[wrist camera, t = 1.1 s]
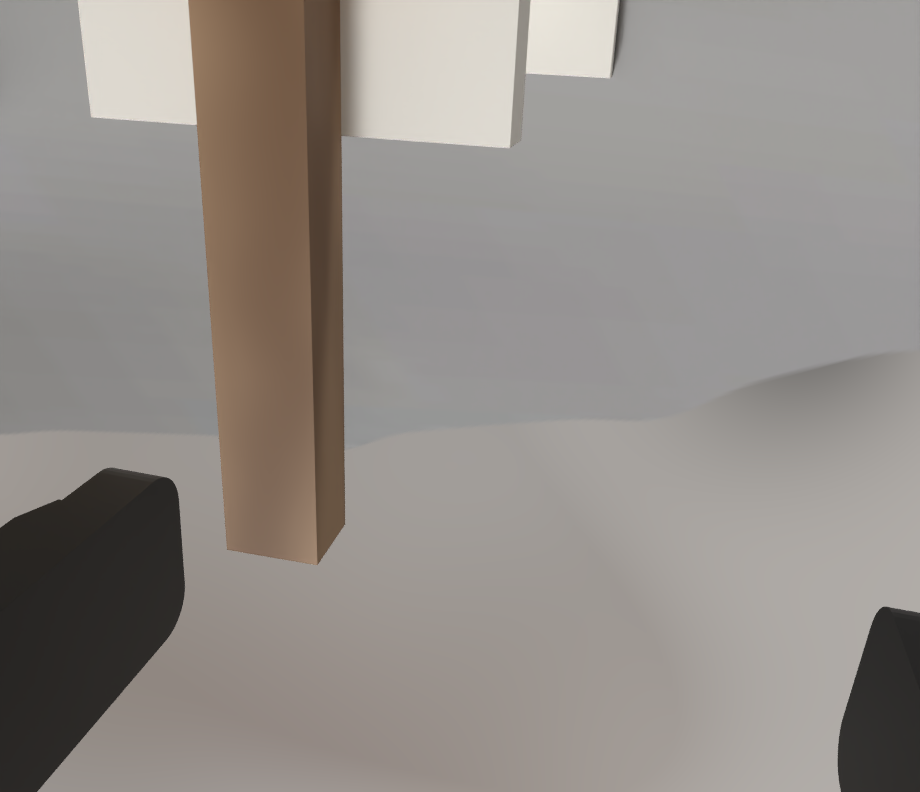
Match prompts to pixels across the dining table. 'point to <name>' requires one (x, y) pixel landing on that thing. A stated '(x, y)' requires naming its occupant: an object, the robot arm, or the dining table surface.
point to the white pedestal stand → (370, 62)
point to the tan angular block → (274, 265)
